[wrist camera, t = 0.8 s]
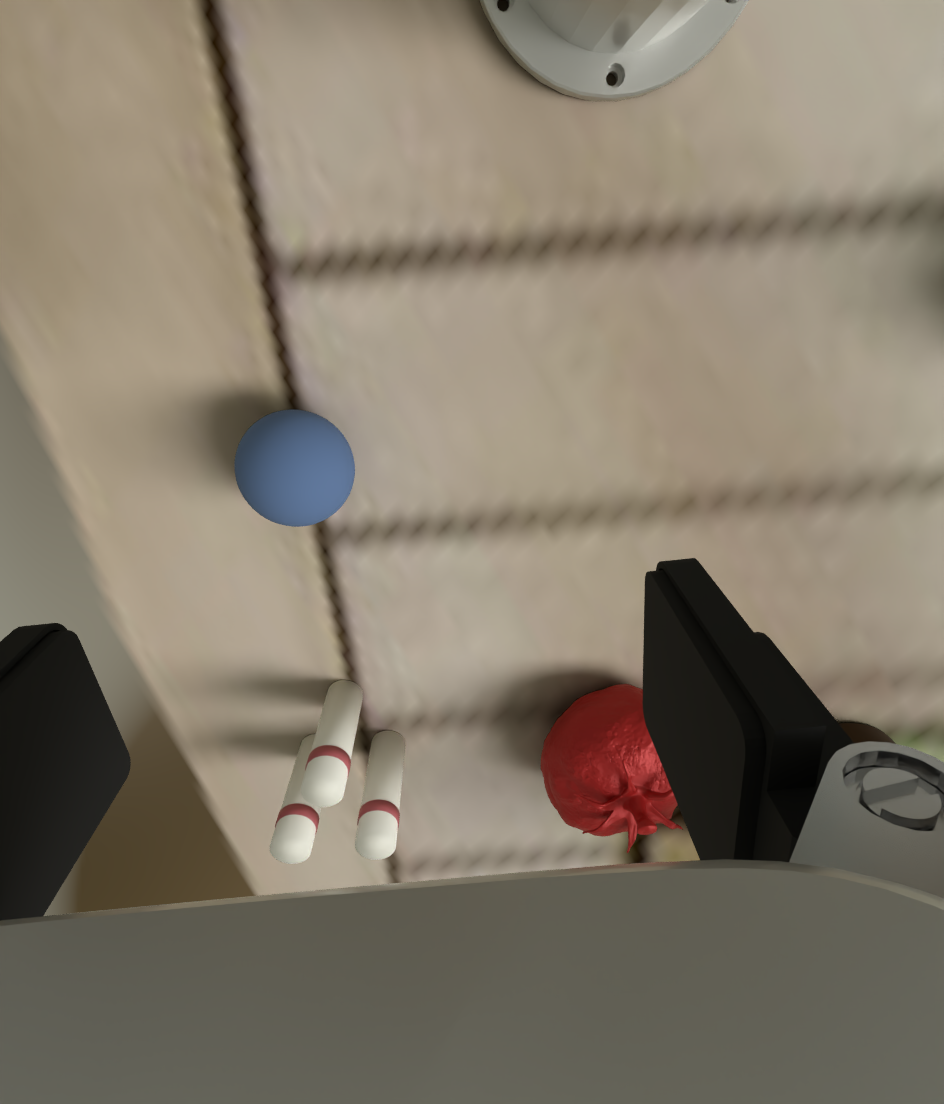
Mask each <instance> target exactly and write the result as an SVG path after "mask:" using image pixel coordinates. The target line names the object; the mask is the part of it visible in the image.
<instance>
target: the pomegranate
mask: <svg viewBox="0 0 944 1104" xmlns="http://www.w3.org/2000/svg"><path fill="white" fill-rule="evenodd" d="M642 702H643V690H642V689H640V688H637V687H634V686H632V685H629V684H619V685H614V686H610V687H608V688H606V689H603V690H598V691H594V692H592V693H589V694H587V695H584V696H582V697H581V698H578V699H577V700H576V701H575V702H574V703H573V704H572V705H571V706H570V707H569V708H568V709H567V710H566V711H565V712H564V713H563V714H562V715H561V716H560V717H559V718H558V719H557V721H556V722H555V724H554V725H553V727H552V728H551V731H550V733H549V734H548V735H547V737H546V739H545V741H544V747H543V750H542V755H541V771H542V773H543V777H544V783H545V788H546V791H547V794H548V797H549V799H550V801H551V803H552V804H553V806H554V807H555V808H556V809H557V811H558V813H559V815H560V816H561V818H562V819H563V820H564V822H565V823H566V824H568V825H570V826H572V827H575V828H578V829H580V830H582V831H584V832H583V834H584V833H590V834H592V835H596V836H610V835H613V834H616V833H621V832H626V831H628V839H629V842H628V850H627V853H628V852H629V850H630V848H631V846H632V844H633V843H634V841H635V839H636V835H637V833H638V834H641V835H648V834H653V833H654V832H656V831H657V826H656V823H663V824H664V825H666V826H667V827H669V828H671V829H676V828H680V829H682V830H683V828H682V827H681V826H679V825H677V824H675V823H674V822H672V821H671V820H669V819H670V818H671V817H672V814H673V811H674V809H675V808H676V807H677V805H678V804H677V801H676V799H675V796H674V794H673V791H672V789H671V786H670V784H669V781H668V779H667V776H666V774H665V771H664V769H663V767H662V764H661V762H660V759H659V757H658V754H657V752H656V749H655V747H654V744H653V742H652V739H651V737H650V734H649V732H648V729H647V727H646V724H645V720H644V714H643V703H642Z"/></svg>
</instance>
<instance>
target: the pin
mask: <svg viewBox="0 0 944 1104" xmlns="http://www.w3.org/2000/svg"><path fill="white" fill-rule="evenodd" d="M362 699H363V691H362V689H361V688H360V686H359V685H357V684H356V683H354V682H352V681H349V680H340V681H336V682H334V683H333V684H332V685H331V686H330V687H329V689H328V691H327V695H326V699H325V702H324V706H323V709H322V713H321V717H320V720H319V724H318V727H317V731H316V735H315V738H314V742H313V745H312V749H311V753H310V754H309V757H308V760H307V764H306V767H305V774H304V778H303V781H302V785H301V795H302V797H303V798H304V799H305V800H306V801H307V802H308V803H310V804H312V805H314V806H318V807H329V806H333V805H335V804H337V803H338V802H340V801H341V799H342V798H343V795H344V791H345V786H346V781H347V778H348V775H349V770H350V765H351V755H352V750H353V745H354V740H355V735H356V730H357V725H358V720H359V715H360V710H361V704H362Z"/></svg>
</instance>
